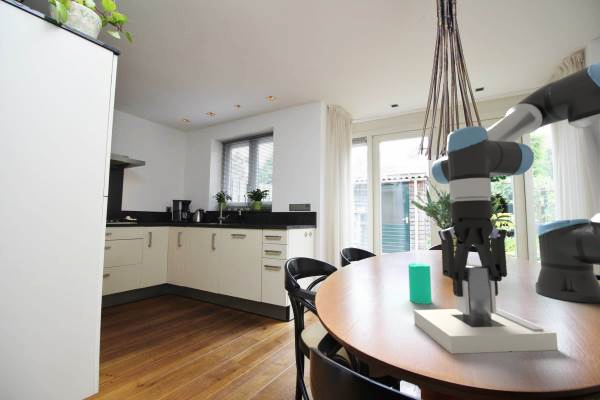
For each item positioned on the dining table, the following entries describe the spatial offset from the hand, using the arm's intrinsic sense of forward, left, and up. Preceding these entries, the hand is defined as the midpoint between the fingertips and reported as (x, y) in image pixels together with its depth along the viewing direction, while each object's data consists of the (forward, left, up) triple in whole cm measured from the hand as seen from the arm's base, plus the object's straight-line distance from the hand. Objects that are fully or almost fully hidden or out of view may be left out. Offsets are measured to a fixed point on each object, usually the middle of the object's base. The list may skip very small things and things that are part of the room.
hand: (476, 311), depth 56 cm
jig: (0, 0, -5) cm, 5 cm away
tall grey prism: (0, 0, -3) cm, 3 cm away
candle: (0, -24, -5) cm, 25 cm away
